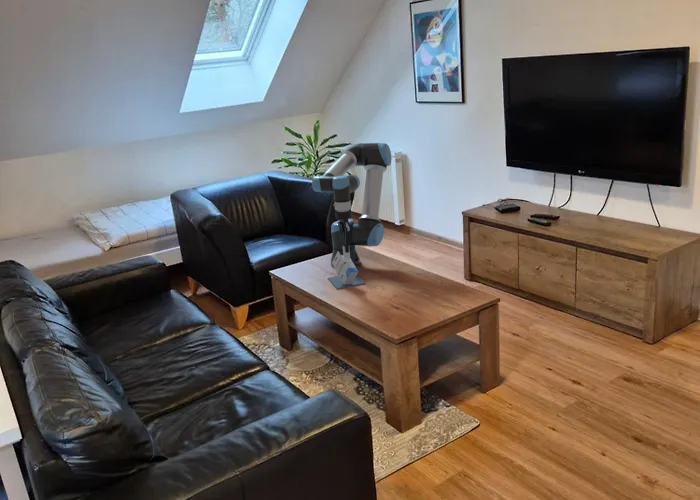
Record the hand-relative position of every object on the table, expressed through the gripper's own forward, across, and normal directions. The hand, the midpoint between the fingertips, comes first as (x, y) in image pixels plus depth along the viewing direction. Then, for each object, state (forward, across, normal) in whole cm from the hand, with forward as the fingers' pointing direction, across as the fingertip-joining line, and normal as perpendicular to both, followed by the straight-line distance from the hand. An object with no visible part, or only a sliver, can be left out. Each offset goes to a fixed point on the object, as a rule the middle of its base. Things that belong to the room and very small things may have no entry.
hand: (346, 258), depth 299 cm
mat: (+13, -5, 0) cm, 14 cm away
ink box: (+9, +4, 0) cm, 10 cm away
